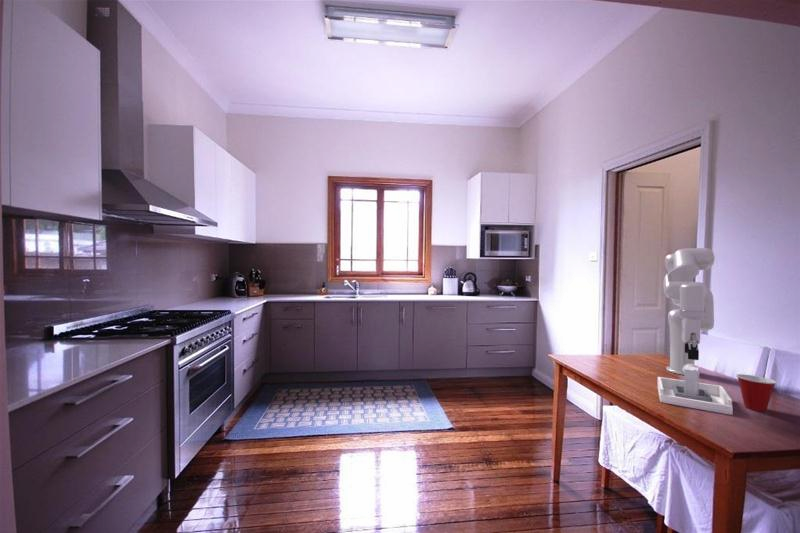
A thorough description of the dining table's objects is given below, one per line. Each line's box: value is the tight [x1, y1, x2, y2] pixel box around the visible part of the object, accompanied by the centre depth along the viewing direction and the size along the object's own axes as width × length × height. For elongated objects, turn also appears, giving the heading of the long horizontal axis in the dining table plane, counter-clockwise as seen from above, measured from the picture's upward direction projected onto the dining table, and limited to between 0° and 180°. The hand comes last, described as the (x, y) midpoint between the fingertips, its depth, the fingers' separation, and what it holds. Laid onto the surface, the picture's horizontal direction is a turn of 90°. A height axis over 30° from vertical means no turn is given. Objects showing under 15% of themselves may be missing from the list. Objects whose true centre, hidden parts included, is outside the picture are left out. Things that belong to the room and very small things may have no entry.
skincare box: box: [683, 366, 700, 396], centre depth 138 cm, size 6×4×12 cm
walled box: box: [657, 376, 734, 416], centre depth 138 cm, size 18×21×5 cm
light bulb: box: [683, 364, 701, 375], centre depth 152 cm, size 6×6×10 cm
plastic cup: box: [735, 373, 778, 413], centre depth 129 cm, size 11×11×12 cm
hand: (691, 356), depth 138 cm, fingers open, 9 cm apart
